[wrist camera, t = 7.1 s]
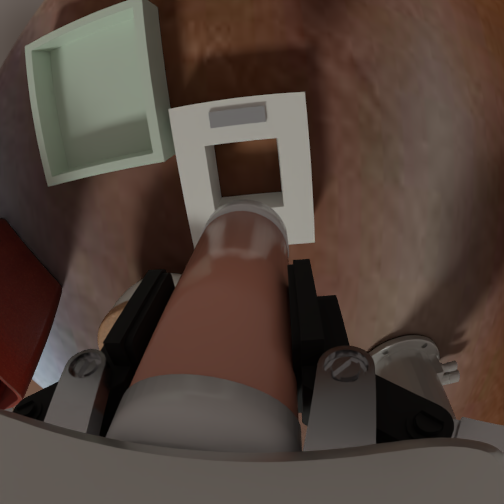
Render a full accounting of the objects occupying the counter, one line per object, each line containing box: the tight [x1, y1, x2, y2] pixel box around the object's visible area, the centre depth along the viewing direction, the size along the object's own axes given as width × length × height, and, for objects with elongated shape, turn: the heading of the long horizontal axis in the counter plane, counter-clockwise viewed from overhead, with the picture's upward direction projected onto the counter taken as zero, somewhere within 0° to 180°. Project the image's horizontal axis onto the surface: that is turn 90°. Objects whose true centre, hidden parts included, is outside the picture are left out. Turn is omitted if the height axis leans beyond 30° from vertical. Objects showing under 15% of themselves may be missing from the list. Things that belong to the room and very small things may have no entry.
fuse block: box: [168, 92, 315, 249], centre depth 25 cm, size 10×12×4 cm
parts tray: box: [25, 0, 176, 187], centre depth 22 cm, size 12×14×4 cm
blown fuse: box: [106, 199, 302, 453], centre depth 10 cm, size 4×4×12 cm
